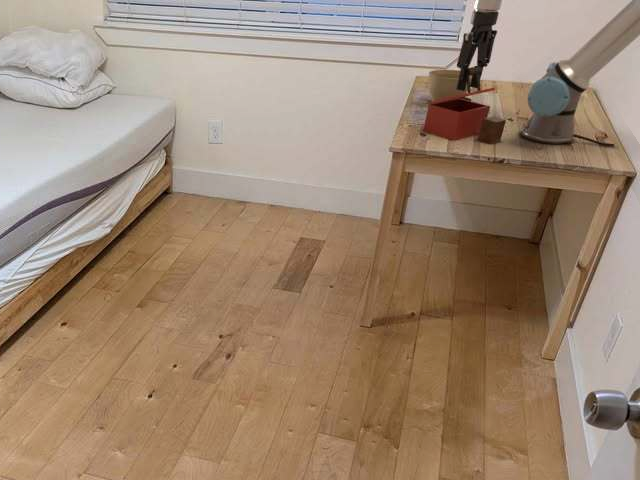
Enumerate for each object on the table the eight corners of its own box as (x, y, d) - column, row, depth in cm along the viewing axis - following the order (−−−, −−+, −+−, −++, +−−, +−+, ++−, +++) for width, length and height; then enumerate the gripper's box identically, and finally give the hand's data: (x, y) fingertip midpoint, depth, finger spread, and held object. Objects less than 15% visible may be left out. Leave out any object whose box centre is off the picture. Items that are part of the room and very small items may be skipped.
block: (500, 141, 223) (506, 119, 219) (490, 144, 221) (496, 122, 217) (486, 137, 227) (492, 116, 223) (477, 140, 225) (483, 118, 221)
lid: (495, 90, 223) (493, 63, 221) (464, 96, 217) (462, 68, 214) (459, 98, 235) (457, 72, 233) (429, 104, 228) (426, 78, 226)
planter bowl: (469, 101, 266) (476, 71, 260) (463, 110, 254) (471, 80, 248) (426, 96, 272) (433, 67, 266) (419, 105, 261) (425, 75, 254)
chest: (483, 132, 231) (490, 106, 226) (453, 140, 225) (460, 112, 220) (452, 124, 240) (458, 98, 235) (422, 130, 233) (428, 104, 228)
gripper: (494, 6, 217) (475, 82, 230) (455, 11, 209) (438, 90, 222) (515, 9, 212) (495, 87, 225) (476, 14, 203) (457, 94, 217)
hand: (467, 88), depth 223 cm, fingers closed on lid, 6 cm apart
